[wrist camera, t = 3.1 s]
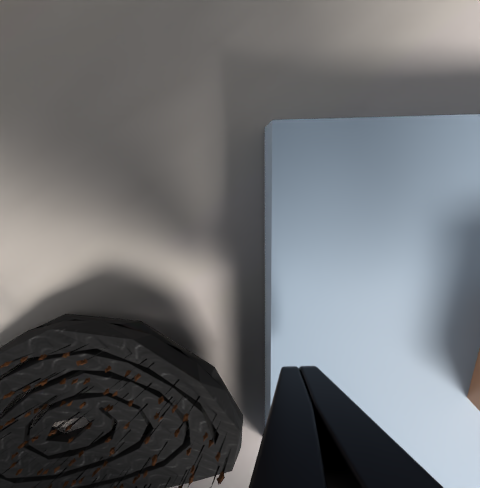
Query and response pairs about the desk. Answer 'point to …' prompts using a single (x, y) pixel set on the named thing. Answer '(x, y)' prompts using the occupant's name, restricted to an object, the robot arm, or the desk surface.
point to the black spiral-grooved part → (112, 409)
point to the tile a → (475, 385)
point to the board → (380, 273)
